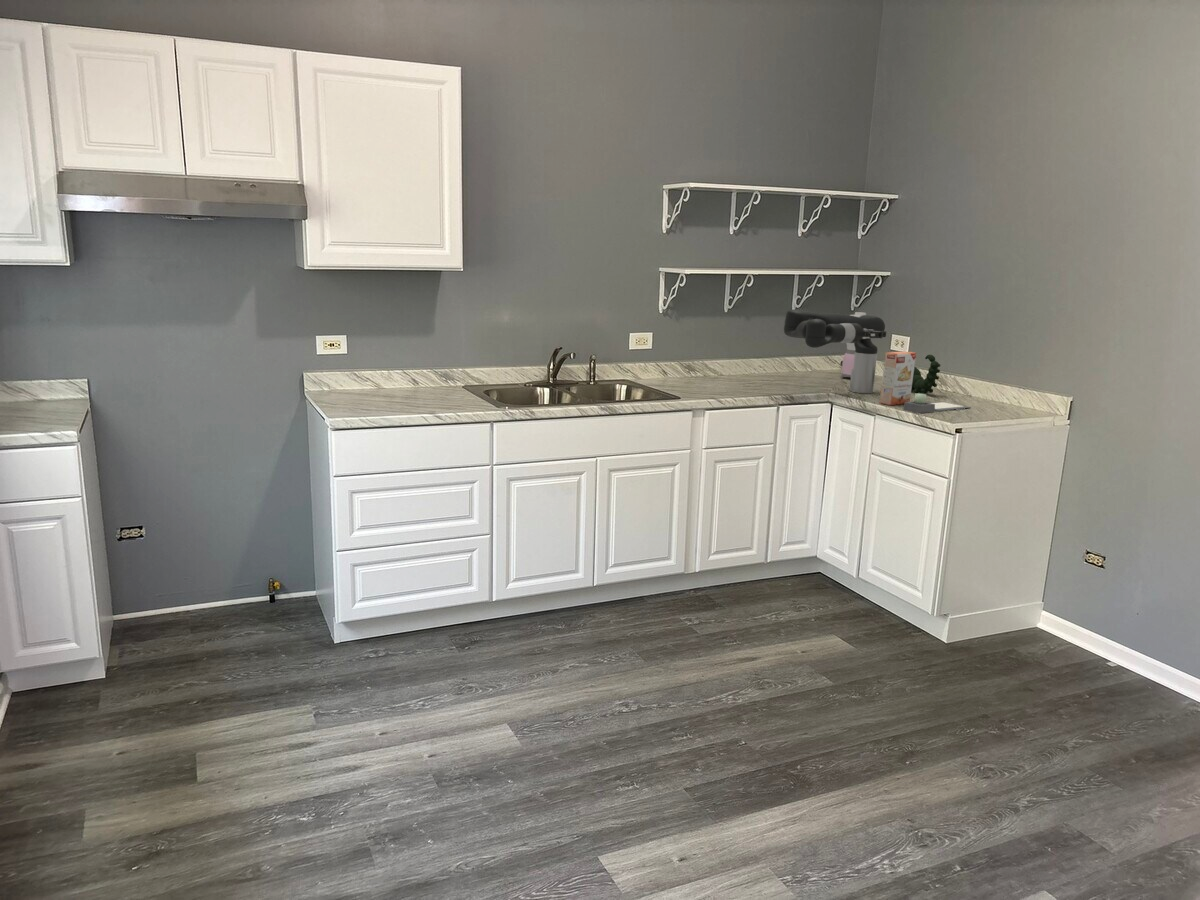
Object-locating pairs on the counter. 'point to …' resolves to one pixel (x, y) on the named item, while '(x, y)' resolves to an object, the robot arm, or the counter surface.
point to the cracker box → (897, 377)
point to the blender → (849, 355)
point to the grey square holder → (919, 407)
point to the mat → (947, 406)
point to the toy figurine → (929, 381)
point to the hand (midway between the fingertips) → (876, 333)
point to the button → (920, 399)
